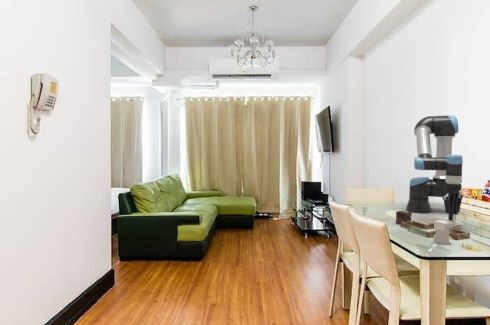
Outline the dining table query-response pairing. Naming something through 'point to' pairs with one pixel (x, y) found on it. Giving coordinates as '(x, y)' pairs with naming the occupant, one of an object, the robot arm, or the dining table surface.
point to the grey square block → (442, 236)
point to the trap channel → (417, 227)
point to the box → (402, 216)
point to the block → (443, 225)
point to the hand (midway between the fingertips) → (451, 225)
